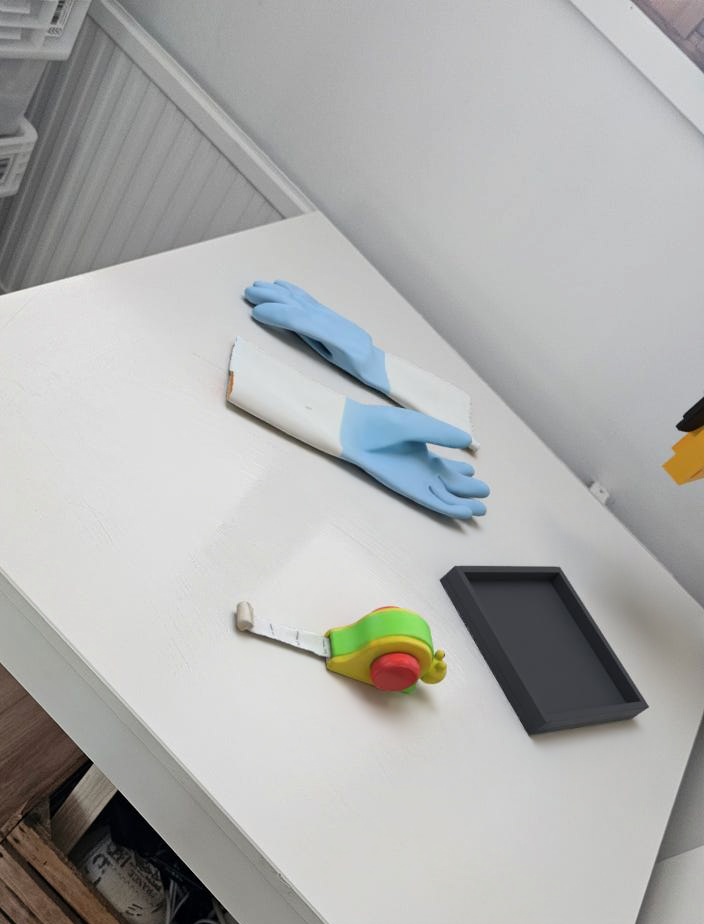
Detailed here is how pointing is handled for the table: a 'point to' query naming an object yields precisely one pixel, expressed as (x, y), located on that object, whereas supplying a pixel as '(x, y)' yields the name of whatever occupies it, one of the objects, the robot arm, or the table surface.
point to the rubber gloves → (359, 404)
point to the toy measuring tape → (366, 647)
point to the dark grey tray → (543, 646)
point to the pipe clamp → (687, 458)
